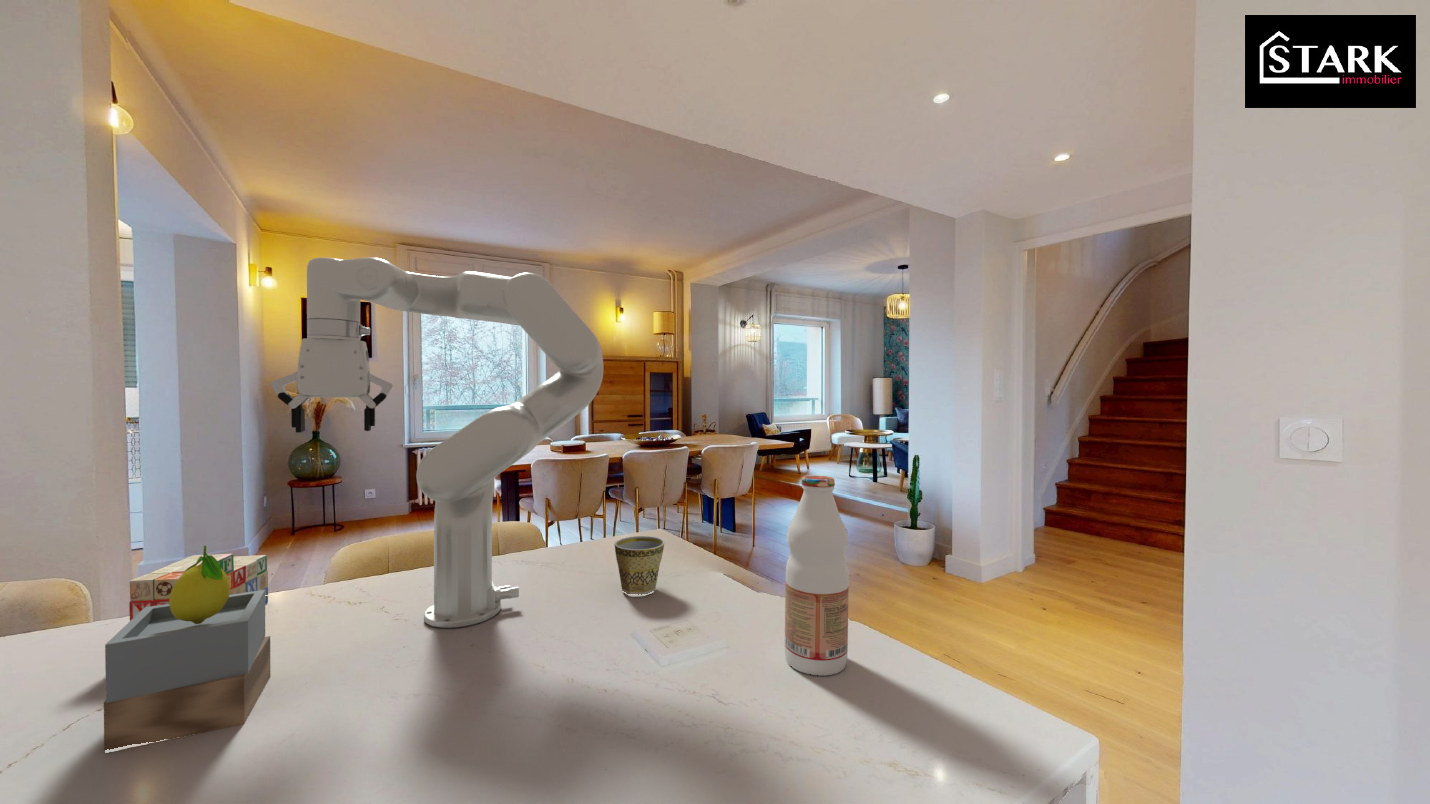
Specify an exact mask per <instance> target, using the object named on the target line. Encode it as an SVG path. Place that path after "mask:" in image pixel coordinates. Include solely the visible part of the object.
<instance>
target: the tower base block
mask: <svg viewBox="0 0 1430 804" xmlns="http://www.w3.org/2000/svg"><path fill="white" fill-rule="evenodd" d="M271 675H272V674H271V636H270V635H268V636H265V637H264V640H263V642H262V644H261V646H260V648H259V651H258V653H257V655H256V657H255V660H254V662H253V664H252V666H251V668H250V671H249V673H247V674H243V675H238V676H233V677H228V678H224V679H219V680H214V681H209V682H204V683H200V684H195V685H190V686H185V687H180V688H176V689H171V690H166V691H161V692H156V693H152V694H147V695H142V696H137V697H132V698H128V699H123V700H118V701H113V702H108V703H106V700H105V701H104V702H103V750H107V749H109V750H110V749H114V748H118V747H123V746H127V745H132V744H141V743H146V742H148V743H149V742H156V741H160V740H164V739H172V740H174V739H173V738H177V737H181V738H185V737H184V736H186V737H190V736H189V735H191V736H194V735H193V734H195V735H198V734H199V733H200V734H204V733H208V732H213V731H217V730H223V729H226V728H231V727H235V726H241V725H245V724H246V721H247V719H248V718H249V716H250V715H251V714H252V713H251V712H252V710H253V709H254V707H255V706H256V704H257V702H258V700H259V698H260V696H261V695H262V693H263V691H264V689H265V688H266V686H267V683H268V682H269V680H270V678H271ZM177 739H178V738H177Z"/></svg>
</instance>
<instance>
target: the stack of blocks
mask: <svg viewBox="0 0 1430 804" xmlns="http://www.w3.org/2000/svg"><path fill="white" fill-rule="evenodd" d="M211 555H212V556H213V557H214V558H215V559H216V560H217V562H218V563H219V565H220V567H221V569H223V570H224V572H225V573H226V575H227V576H228V578H229V581H230V594H229V595H232V594H239V593H246V592H253V591H259V590H265V595H268V596H265V605H266V604H268V602H269V588H268V587H269V570H268V555H267V554H261V555H260V554H259V555H242V556H241V555H240V556H239V555H238V556H234V553H217V554H211ZM201 556H202V557H203V554H197V555H194V554H193V555H191V556H188V557H186V558H183V559H181V560H178V561H176V562H173V563H170V564H168V565H166V566H164V567H161V568H159V569H157V570H154V571H152V572H150V573H146V574H143V575H141V576H138V577H136V578H133V579H130V580H129V599H130V600H129V604H128V605H129V606H128V607H129V613H128V615H129V622H130V621H131V620H132V619H133V618H134V617H135V616H136V615H137V614H138V613H139V612H140V611H141V610H143V609H144V608H145V607H150V606H157V605H164V604H169V599H170V594H171V591H172V588H173V586H174V585H175V583H176V581H177V580H178V579H179V577H180V576H181V575H182V574H183V573H184V572H185V570H186V569H188V568H189V567H190V566H192V565H194V564H195V563H196V562H197V561H198V559H199V557H201ZM201 563H202V561H201V562H200V563H199V564H201ZM199 564H197V565H196V566H198V565H199Z"/></svg>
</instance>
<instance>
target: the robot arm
mask: <svg viewBox="0 0 1430 804" xmlns="http://www.w3.org/2000/svg"><path fill="white" fill-rule="evenodd" d="M361 301H366V302H369V303H373V304H376V305H379V306H382V307H384V308H387V309H389V310H390V309H391V310H394V311H400V312H408V313H414V314H420V315H421V314H422V315H431V316H439V317H451V318H455V319H466V320H473V321H475V320H476V321H482V322H491V323H492V322H493V323H500V324H506V325H513V326H520V327H521V329H523V331H524V332H525V333H526V334H527V335H528V336H529V338H530V339H531V340H533V342H535V344H536V345H537V346H538V348H540V350H541V351H542V352H543V353H544V354H545V355H546V356H547V358H548V359H550V361H551V362H552V363H553V364H554V365H555V366H556V367H557V368H558V369H557V370H556V372H555V373H554V374H553V375H551V376H550V378H548V379H546V380H545V381H543V382H542V383H541V384H539V385H537V386H536V387H534V389H532V390H531V391H530V392H527V394H525V395H523V396H522V397H521V398H519V399H518V400H516V401H514V402H513V403H511V404H506V405H504V406H502V405H501V406H498V407H495V408H493V409H490V410H488V411H487V412H485V413H483V414H482V415H480V416H478V417H477V418H475V419H474V420H473V421H471V422H470V423H468V424H466V425H465V426H464V427H462V428H461V429H459V430H458V431H456V432H455V433H453V434H452V435H451V436H449V437H448V438H446V439H445V440H443V441H442V442H440V443H439V444H437V445H436V446H434V447H433V448H432V449H430V450H429V451H428V452H427V453H425V455H424V456H423V457H422V458H421V460H420V461H419V463H418V465H417V470H416V476H415V477H416V483H417V486H418V488H419V490H420V491H421V493H422V494H423V495H424V496H425V497H427V498H429V499H430V500H432V501H434V502H435V505H434V514H433V515H434V516H433V517H434V518H433V604H432V605H430V606H429V607H428V608H427V609H426V610H425V611H424V613H423V620H424V623H426V624H427V625H429V626H432V627H435V628H441V629H442V628H443V629H444V628H448V629H449V628H450V629H451V628H452V629H453V628H461V627H462V628H463V627H468V626H472V625H476V624H479V623H482V622H485V621H487V620H489V619H492V618H493V617H494V616H496V615H497V614H498V613H500V610H501V609H502V603H501V601H502V600H506V599H508V600H510V599H516V598H519V597H520V588H519V586H514V587H511V585H510V584H508V585H502V586H497V585H495V584H494V581H493V576H492V575H493V568H492V567H493V565H492V564H493V556H492V555H493V499H494V487H495V478H496V477H497V476H499V474H501V473H503V472H504V471H506V470H507V469H508V468H509V467H511V466H513V465H514V464H515V463H517V462H518V461H520V460H521V459H522V458H524V457H526V456H527V455H528V454H529V453H530V452H532V451H533V450H534V449H535V447H537V446H538V444H540V443H541V442H542V441H543V440H545V439H546V438H548V437H549V436H550V435H552V434H553V433H554V432H556V431H558V430H559V429H560V428H561V427H563V426H564V425H565V424H567V423H568V422H570V421H571V420H572V419H573V418H575V417H576V416H577V415H579V414H580V413H581V412H583V411H584V410H585V409H586V407H588V406H589V405H590V404H591V403H592V401H593V400H594V398H595V397H596V395H597V394H598V392H599V390H600V387H601V386H602V385H601V384H602V382H603V377H604V357H603V351H602V347H601V344H600V342H599V340H598V338H597V336H596V335H595V334H594V332H593V331H592V330H591V329H590V328H589V326H588V325H587V324H586V323H585V322H584V321H583V320H582V318H580V316H579V315H578V314H577V313H576V312H575V311H574V309H573V308H572V307H571V306H570V304H568V303H567V302H566V300H565V299H564V297H562V296H561V295H560V294H559V292H558V291H557V290H556V288H555V287H554V285H552V283H551V282H550V281H549V280H548V279H547V278H545V277H544V276H542V275H540V274H538V273H534V272H522V273H518V274H515V275H514V276H505V275H499V274H493V273H486V272H478V271H471V270H470V271H469V270H467V271H463V272H461V273H459V274H457V275H454V276H438V275H437V276H436V275H430V274H422V273H416V272H410V271H405V270H404V269H402V268H400V267H399V266H397V265H394V264H393V263H391V262H390V261H388V260H385V259H384V258H383V259H382V258H379V257H360V258H351V259H350V258H349V259H340V258H334V257H315V258H311V259H310V260H309V261H308V263H307V264H306V315H307V316H306V334H307V335H306V337H307V338H302V339H301V342H300V347H299V353H298V358H297V359H298V360H297V361H298V362H297V370H296V372H295V371H294V372H293V373H291V374H288V375H285V376H283V377H281V378H278V379H276V380H273V381H271V382H270V387H271V388H272V390H273V391H274V393H275V394H276V396H277V398H278V399H279V400H280V401H281V402H283V403H284V404H285V405H286V406H288V408H289V409H290V410H291V412H290V413H291V418H290V419H291V421H290V422H291V428H293V429H294V428H295V433H298V434H299V433H303V432H304V431H306V413H305V412H306V409H305V408H304V407H303V406H304V404H305V403H306V402H307V401H308V400H309V399H310V398H359V399H360V401H362V402H363V403H364V405H365V408H364V409H363V418H364V419H363V423H364V424H363V426H364V427H363V430H364V431H365V432H370V431H371V430H372V427H376V407H378V406H379V405H380V404H382V402H383V401H385V400H386V399H387V398H388V395H389V394H390V393H391V391H392V389H393V387H394V385H393V383H392V382H389V381H388V380H385V379H382V378H381V377H378V376H376V375H374V374H372V373H371V372H370V371H371V369H370V368H371V367H370V359H369V352H368V347H367V346H368V345H367V342H366V341H364V340H361V339H362V337H363V336H370V335H371V328H370V327H365V325H364V326H363V324H361ZM295 382H296V391H297V394H296V396H294V397H293V396H292V395H290V394H289V393H288V392H287V390H286V388H285V387H286V386H287V385H290V384H292V383H295ZM371 383H373V384H375V385H377V386H379V387H380V388H381V390H380V391H379V393H378V394H377V395H376V396H374V398H373V397H372V396H371V395H370V392H371Z"/></svg>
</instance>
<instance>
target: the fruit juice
mask: <svg viewBox="0 0 1430 804" xmlns="http://www.w3.org/2000/svg"><path fill="white" fill-rule="evenodd" d="M835 482H836V481H835V478H834V477H833V476H828V475H815V474H814V475H813V474H812V475H805V476H803V477H802V478H801V488H802V489H803V493H802V496H801V498H800V500H799V503H798V506H797V509H796V511H795V515H794V517H793V518H792V520H791V522H790V523H789V525H788V527H787V532H786V540H787V544H788V549H789V557H788V559H787V562H786V566H785V581H784V582H785V595H784V596H785V602H784V603H785V604H784V605H785V606H784V609H785V610H784V656H785V660H786V662H787V664H788V665H789V666H790V667H791V666H792V667H791V668H792V669H795V670H796V671H798V672H799V673H802V674H806V675H810V674H811V676H817V675H818V676H817V677H821V676H823V677H824V676H826V677H827V676H832V675H836V674H838V673H840V672H842V671H843V670H844V669H846V666H847V662H848V653H849V652H848V651H849V650H848V649H849V648H848V647H849V642H848V641H849V591H850V590H849V588H850V587H849V585H850V583H849V582H850V581H849V580H850V578H849V567H848V564H847V561H846V551H847V549H848V545H849V532H848V530H847V527H846V525H845V524H844V522H843V520H842V518H841V515H840V512H839V510H838V506H837V504H836V500H835V497H834V493H833V492H834V491H833V490H835Z"/></svg>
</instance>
